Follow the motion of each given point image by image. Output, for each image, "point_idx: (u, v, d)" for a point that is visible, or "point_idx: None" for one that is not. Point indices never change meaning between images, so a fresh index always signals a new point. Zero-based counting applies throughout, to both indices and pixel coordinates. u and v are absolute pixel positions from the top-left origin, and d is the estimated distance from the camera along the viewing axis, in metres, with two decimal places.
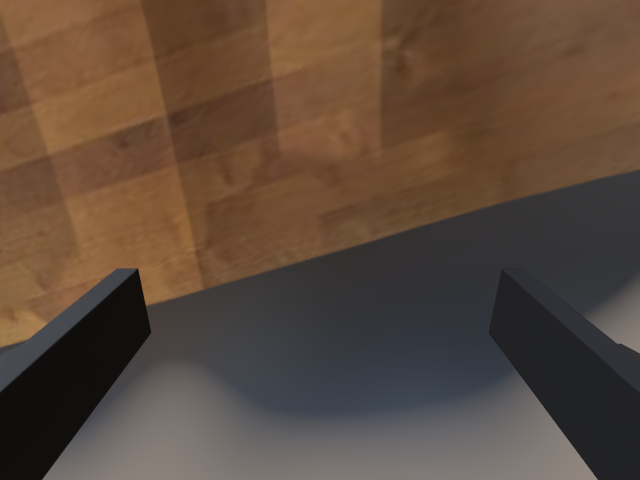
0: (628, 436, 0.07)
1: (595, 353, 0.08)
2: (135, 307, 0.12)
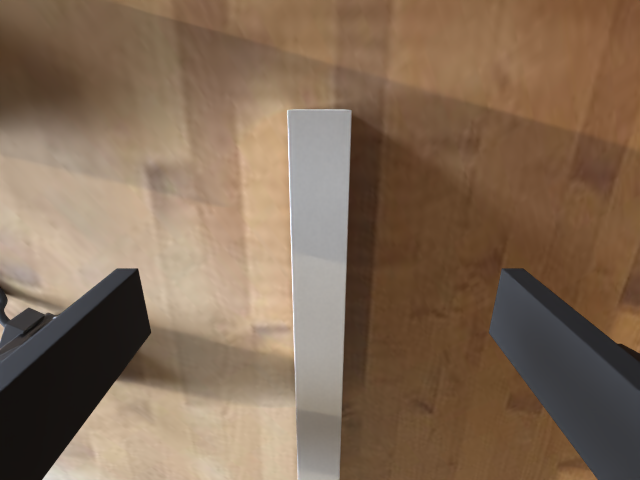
0: (628, 436, 0.07)
1: (595, 353, 0.08)
2: (135, 307, 0.12)
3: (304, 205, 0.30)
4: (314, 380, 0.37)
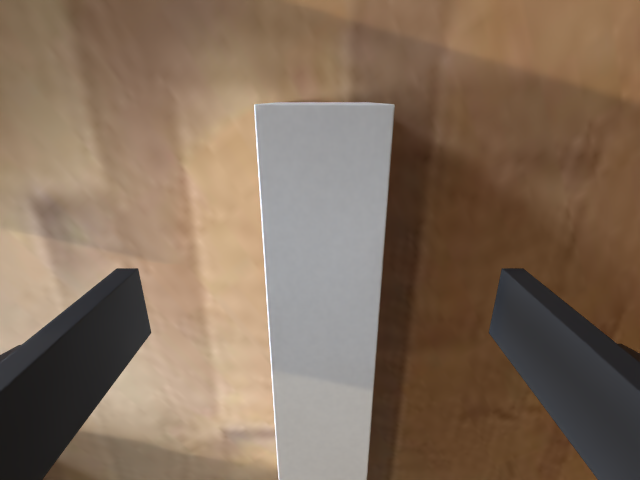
0: (628, 436, 0.07)
1: (595, 353, 0.08)
2: (135, 307, 0.12)
3: (294, 291, 0.15)
4: None
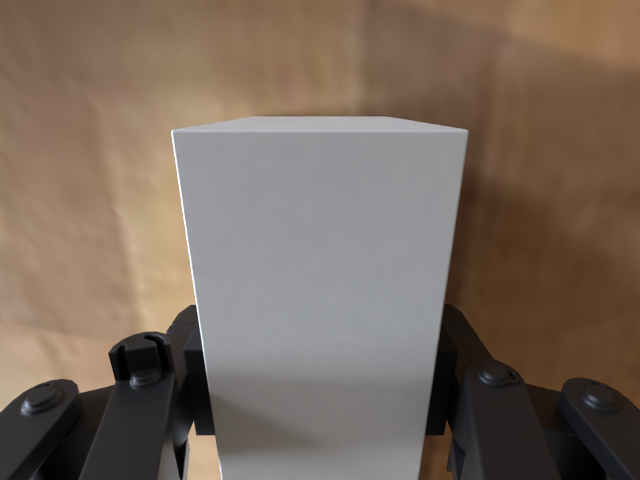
0: None
1: None
2: None
3: (267, 456, 0.09)
4: None
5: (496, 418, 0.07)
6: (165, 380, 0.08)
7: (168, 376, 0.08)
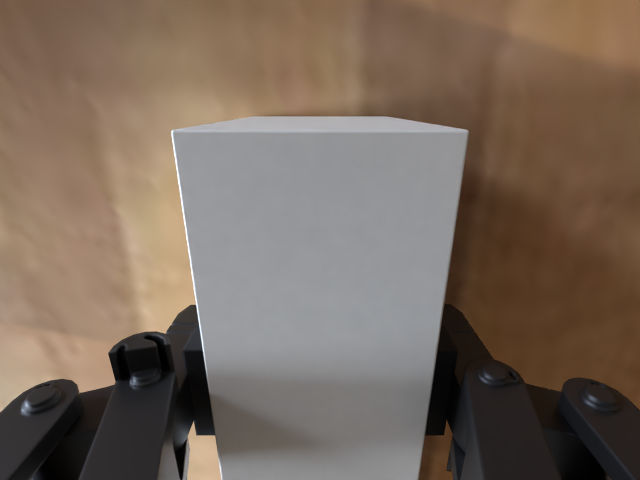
0: None
1: None
2: None
3: (267, 456, 0.09)
4: None
5: (496, 418, 0.07)
6: (165, 380, 0.08)
7: (168, 376, 0.08)
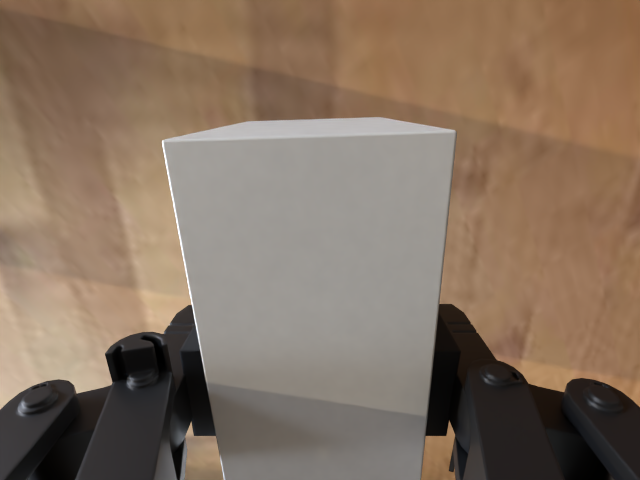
0: None
1: None
2: None
3: (269, 460, 0.09)
4: None
5: (499, 418, 0.07)
6: (162, 380, 0.08)
7: (165, 376, 0.08)
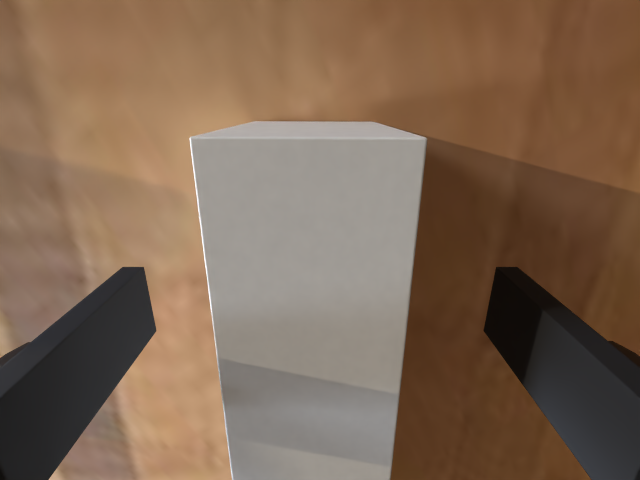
0: (617, 431, 0.07)
1: (585, 350, 0.08)
2: (141, 305, 0.12)
3: (266, 413, 0.10)
4: None
5: None
6: None
7: None
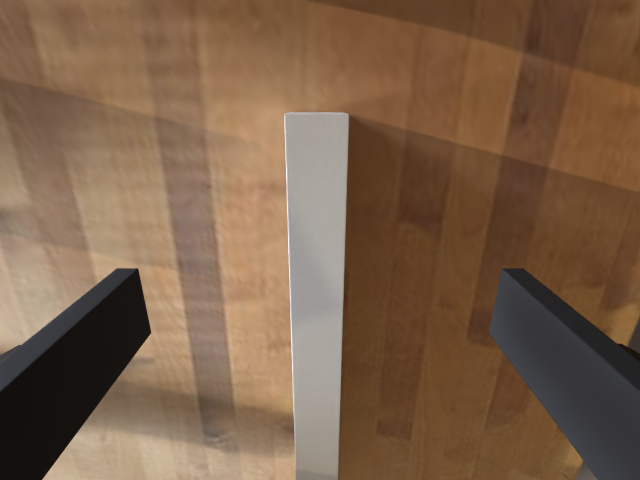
0: (628, 436, 0.07)
1: (595, 353, 0.08)
2: (135, 307, 0.12)
3: (301, 209, 0.30)
4: (312, 384, 0.37)
5: None
6: None
7: None
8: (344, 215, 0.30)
